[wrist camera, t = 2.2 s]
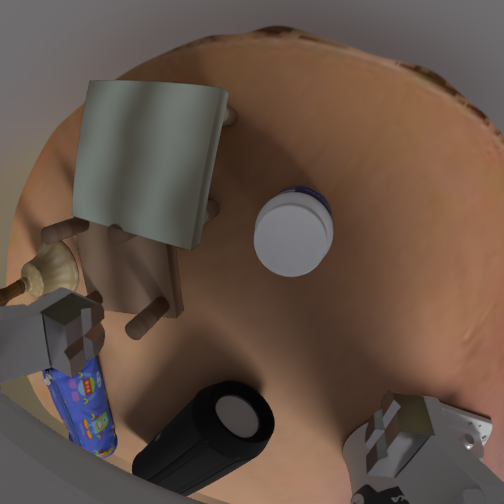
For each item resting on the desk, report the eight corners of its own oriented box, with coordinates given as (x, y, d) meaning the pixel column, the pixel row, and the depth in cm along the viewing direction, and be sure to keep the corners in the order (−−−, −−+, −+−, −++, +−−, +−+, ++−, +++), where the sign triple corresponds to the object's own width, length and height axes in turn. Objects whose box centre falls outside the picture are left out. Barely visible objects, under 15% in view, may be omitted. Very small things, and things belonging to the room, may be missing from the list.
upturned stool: (171, 201, 32) (127, 215, 24) (183, 310, 35) (150, 347, 28) (83, 207, 35) (35, 221, 27) (100, 301, 38) (60, 330, 30)
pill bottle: (342, 226, 29) (351, 259, 20) (290, 256, 31) (275, 300, 22) (310, 172, 28) (303, 179, 19) (257, 205, 30) (227, 227, 21)
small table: (247, 104, 28) (221, 87, 20) (222, 227, 32) (190, 250, 24) (137, 92, 29) (89, 80, 22) (120, 201, 33) (71, 215, 26)
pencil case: (61, 315, 41) (17, 346, 32) (106, 330, 39) (62, 368, 30) (89, 419, 47) (61, 452, 38) (129, 436, 46) (102, 474, 37)
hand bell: (71, 235, 36) (-29, 278, 21) (85, 297, 38) (-2, 356, 23) (33, 239, 38) (-56, 276, 23) (47, 294, 40) (-33, 343, 25)
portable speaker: (220, 359, 36) (189, 416, 27) (287, 403, 36) (273, 466, 27) (143, 441, 45) (116, 482, 36) (192, 472, 45) (172, 515, 36)
